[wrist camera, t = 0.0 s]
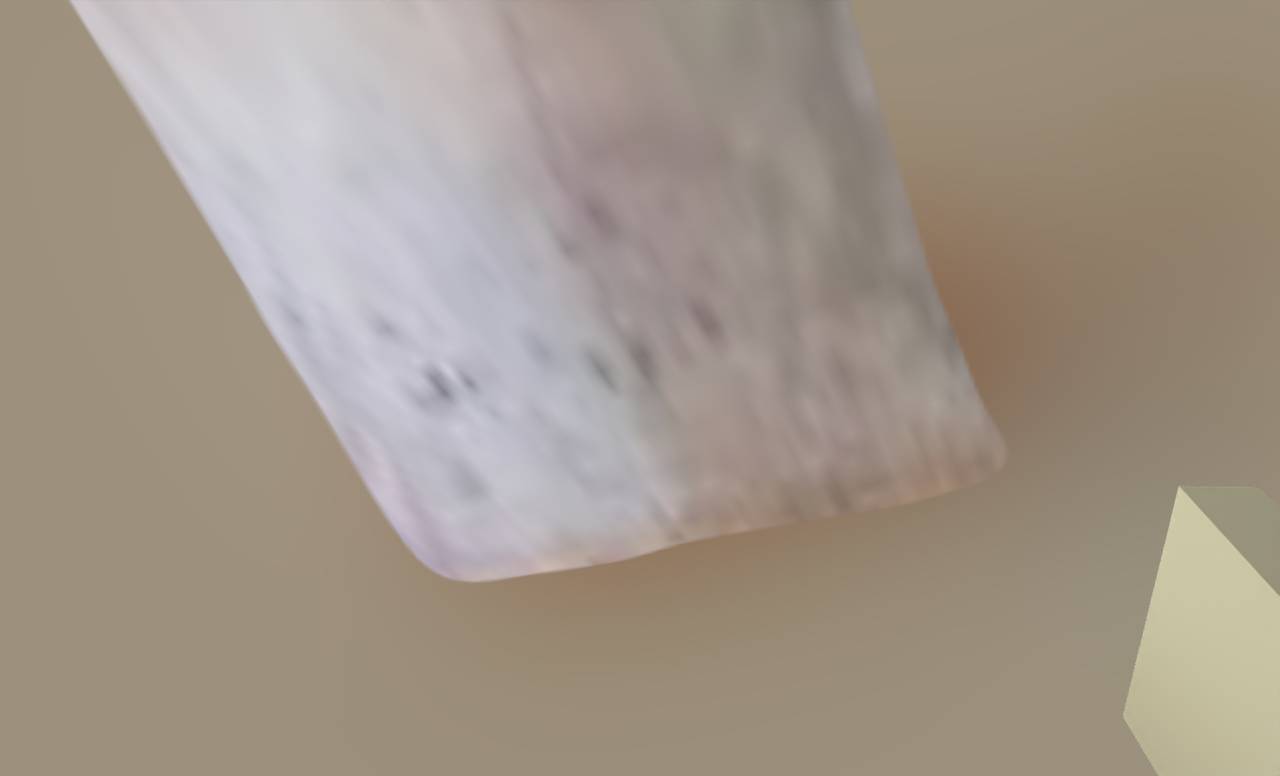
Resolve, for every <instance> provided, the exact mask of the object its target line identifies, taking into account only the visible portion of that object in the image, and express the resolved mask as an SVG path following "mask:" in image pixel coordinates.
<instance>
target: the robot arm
mask: <svg viewBox="0 0 1280 776" xmlns="http://www.w3.org/2000/svg"><path fill="white" fill-rule="evenodd" d="M1123 717H1124V719H1125V721H1126V722H1127V724H1128V726H1129V727H1130V729H1131V731H1132V732H1133V734H1134V735H1135V737H1136V739H1137V740H1138V742H1139V744H1140V746H1141V747H1142V749H1143V751H1144V752H1145V754H1146V756H1147V757H1148V759H1149V760H1150V762H1151V764H1152V766H1153V767H1154V769H1155V771H1156V772H1157V774H1158V775H1159V776H1280V508H1279V507H1278V506H1277V505H1276V504H1275V503H1274V502H1273V501H1272V500H1271V499H1270V498H1268V497H1267V496H1266V495H1265V494H1264V493H1263V492H1262V491H1261V490H1260V489H1259V488H1258V487H1227V486H1220V487H1219V486H1179V488H1178V492H1177V496H1176V500H1175V504H1174V508H1173V512H1172V516H1171V520H1170V525H1169V529H1168V533H1167V537H1166V541H1165V545H1164V549H1163V554H1162V558H1161V562H1160V566H1159V570H1158V574H1157V578H1156V582H1155V587H1154V591H1153V594H1152V598H1151V603H1150V607H1149V611H1148V615H1147V619H1146V623H1145V628H1144V631H1143V636H1142V640H1141V644H1140V648H1139V652H1138V656H1137V661H1136V664H1135V668H1134V673H1133V677H1132V681H1131V685H1130V689H1129V693H1128V697H1127V701H1126V705H1125V709H1124V714H1123Z"/></svg>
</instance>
